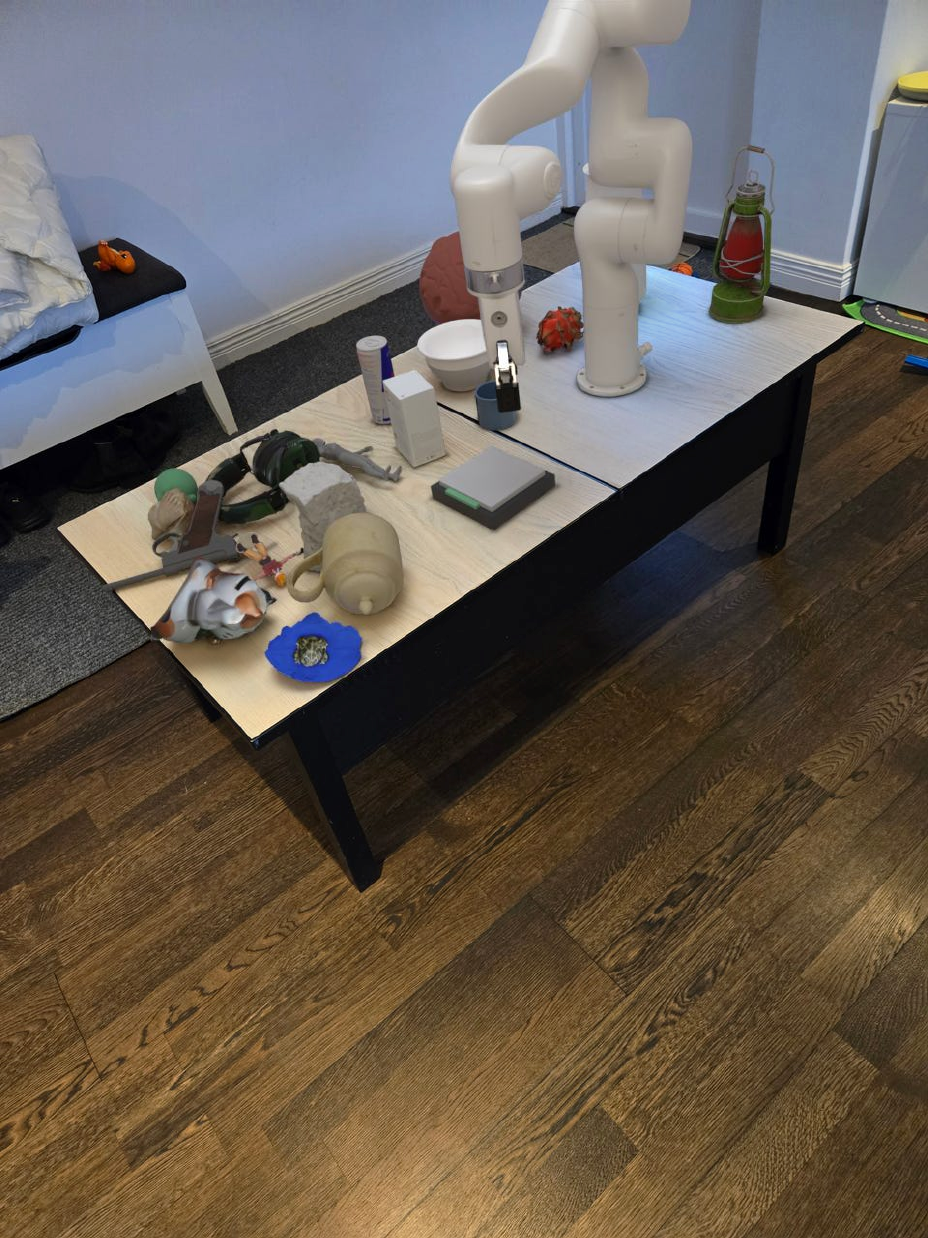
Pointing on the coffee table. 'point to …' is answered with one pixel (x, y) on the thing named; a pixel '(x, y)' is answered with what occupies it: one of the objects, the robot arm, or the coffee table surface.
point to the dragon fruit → (560, 329)
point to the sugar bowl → (355, 565)
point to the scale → (493, 487)
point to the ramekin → (491, 409)
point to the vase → (604, 191)
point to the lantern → (743, 253)
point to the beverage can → (376, 374)
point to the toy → (315, 649)
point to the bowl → (456, 354)
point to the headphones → (263, 474)
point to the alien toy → (176, 484)
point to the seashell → (171, 514)
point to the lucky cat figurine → (212, 606)
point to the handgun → (192, 540)
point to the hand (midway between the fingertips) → (508, 392)
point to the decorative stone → (321, 501)
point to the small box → (414, 417)
